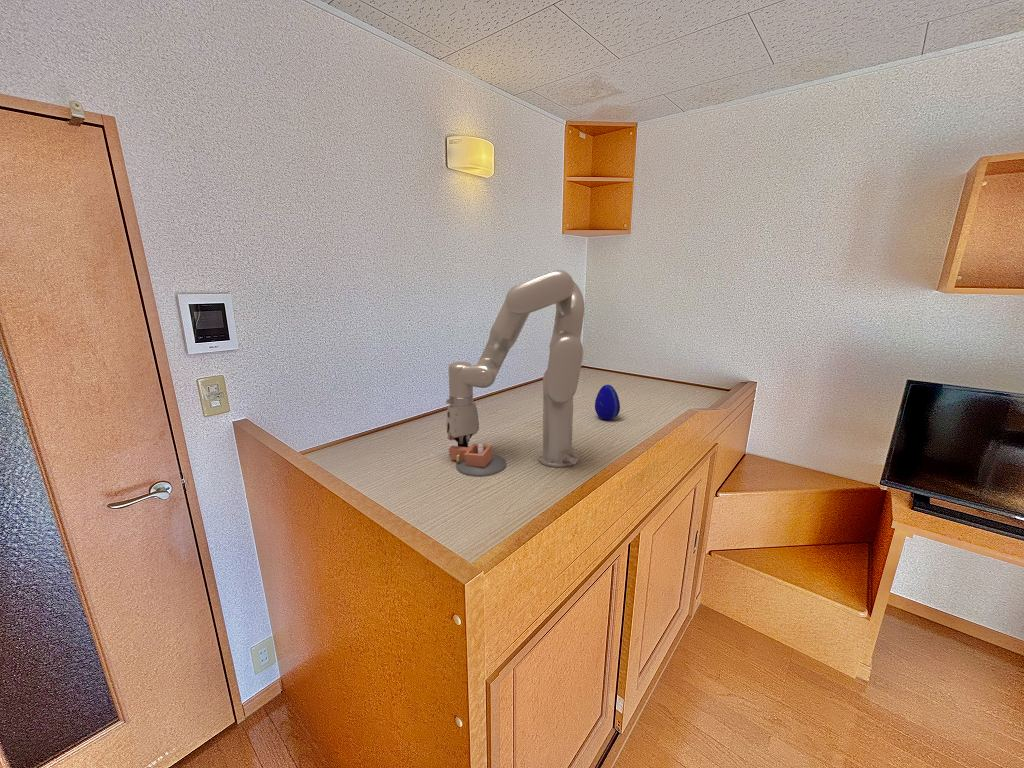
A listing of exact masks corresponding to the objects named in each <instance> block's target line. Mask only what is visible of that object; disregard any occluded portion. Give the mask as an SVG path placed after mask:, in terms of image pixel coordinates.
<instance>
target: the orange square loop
mask: <svg viewBox="0 0 1024 768" xmlns="http://www.w3.org/2000/svg"><path fill="white" fill-rule="evenodd" d="M479 444H480V443H473V444H472V445H471V446H470V447H469V446H468V447H459V446H458V445H457V446H456V445H451V446H449V448H448V452H449V456H450V458H449V459H450V460H452V461H456V454H460V461H465V462H466V465H468V466H478V467H485V466H486V465H487V464H488V463H489V461H490V460H491V459H492V458H493V454H494V450H493V445H492V444H482V445H483V449H484V451H483V453H482V454H478V445H479Z"/></svg>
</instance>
